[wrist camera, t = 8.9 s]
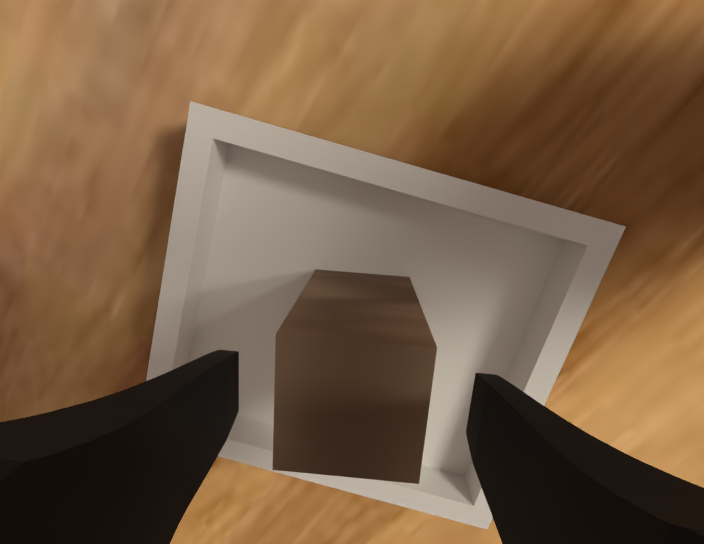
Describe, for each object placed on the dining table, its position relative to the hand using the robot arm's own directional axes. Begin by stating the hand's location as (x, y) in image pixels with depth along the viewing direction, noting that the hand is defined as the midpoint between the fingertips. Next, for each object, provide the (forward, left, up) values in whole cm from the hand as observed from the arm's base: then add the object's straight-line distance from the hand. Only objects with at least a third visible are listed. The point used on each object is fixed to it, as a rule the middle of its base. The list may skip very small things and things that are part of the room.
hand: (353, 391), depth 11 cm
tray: (0, 0, -6) cm, 6 cm away
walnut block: (0, 0, -5) cm, 5 cm away
